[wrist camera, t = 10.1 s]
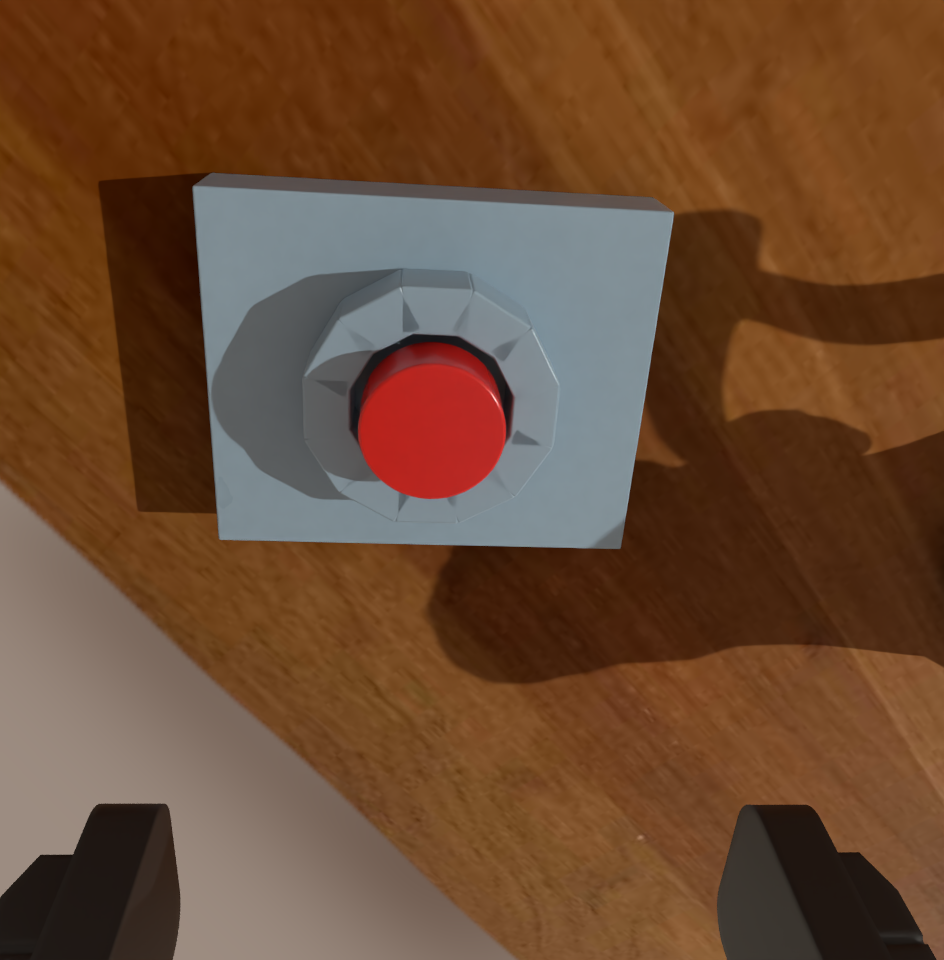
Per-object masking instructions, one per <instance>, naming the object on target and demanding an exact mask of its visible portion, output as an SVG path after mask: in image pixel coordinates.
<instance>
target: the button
mask: <svg viewBox="0 0 944 960" xmlns="http://www.w3.org/2000/svg"><path fill="white" fill-rule="evenodd" d="M505 439H506V422H505V416H504V411H503V407H502V403H501V399H500V394H499V391H498V387H497V385H496V382H495V380H494V378H493V376H492V375H491V373H490V371H489V370H488V369H487V367H486V366H485V365H484V364H483V363H482V362H481V361H480V360H479V359H478V358H477V357H475V356H474V355H472V354H471V353H469V352H468V351H466V350H464V349H462V348H459V347H457V346H454V345H451V344H446V343H440V342H422V343H415V344H412V345H408V346H405V347H403V348H401V349H398V350H396V351H395V352H393V353H391V354H390V355H388V356H387V357H386V358H385V359H383V360H382V361H381V362H380V363H379V364H378V365H377V366H376V368H375V369H374V370H373V372H372V373H371V374H370V376H369V378H368V380H367V382H366V385H365V387H364V390H363V395H362V400H361V407H360V414H359V421H358V441H359V445H360V449H361V452H362V455H363V457H364V459H365V461H366V463H367V465H368V466H369V468H370V469H371V470H372V472H373V473H374V474H375V475H376V476H377V477H378V478H379V479H380V480H381V481H382V482H384V483H385V484H386V485H388V486H389V487H391V488H392V489H394V490H396V491H398V492H400V493H402V494H405V495H408V496H411V497H416V498H423V499H441V498H448V497H451V496H455V495H458V494H461V493H463V492H466V491H467V490H469V489H471V488H473V487H474V486H476V485H477V484H479V483H480V482H481V481H482V480H483V479H484V478H486V477H487V476H488V475H489V473H490V472H491V471H492V470H493V469H494V467H495V466H496V464H497V462H498V461H499V459H500V456H501V454H502V452H503V448H504V445H505Z"/></svg>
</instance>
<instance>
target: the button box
mask: <svg viewBox="0 0 944 960" xmlns="http://www.w3.org/2000/svg"><path fill="white" fill-rule="evenodd" d="M192 191H193V204H194V217H195V230H196V244H197V257H198V270H199V283H200V296H201V310H202V323H203V336H204V349H205V363H206V376H207V389H208V402H209V416H210V429H211V442H212V455H213V468H214V482H215V495H216V508H217V521H218V535H219V539H220V540H255V541H298V542H340V543H383V544H426V545H469V546H511V547H554V548H597V549H620V548H621V544H622V538H623V531H624V525H625V519H626V512H627V506H628V500H629V494H630V487H631V481H632V475H633V469H634V462H635V456H636V450H637V444H638V437H639V431H640V425H641V419H642V412H643V406H644V400H645V393H646V387H647V381H648V375H649V368H650V362H651V356H652V350H653V343H654V337H655V331H656V325H657V318H658V312H659V306H660V300H661V293H662V287H663V281H664V274H665V268H666V262H667V256H668V249H669V243H670V237H671V231H672V224H673V218H674V212H673V211H671V210H670V209H669V208H667V207H666V206H664V205H663V204H661V203H660V202H659V201H657V200H656V199H654V198H653V197H635V196H617V195H599V194H581V193H563V192H545V191H527V190H509V189H491V188H473V187H455V186H437V185H419V184H401V183H383V182H365V181H347V180H329V179H311V178H293V177H275V176H257V175H239V174H221V173H211V174H209V175H208V176H206V177H205V178H203V179H202V180H201V181H199V182H198V183H197V184H195V185H194V186H193V187H192ZM422 342H440V343H446V344H451V345H454V346H457V347H459V348H462V349H464V350H466V351H468V352H469V353H471V354H472V355H474V356H475V357H477V358H478V359H479V360H480V361H481V362H482V363H483V364H484V365H485V366H486V367H487V369H488V370H489V371H490V373H491V375H492V376H493V378H494V380H495V382H496V385H497V387H498V391H499V394H500V399H501V403H502V407H503V411H504V416H505V422H506V439H505V445H504V448H503V452H502V454H501V456H500V459H499V461H498V462H497V464H496V466H495V467H494V469H493V470H492V471H491V472H490V473H489V475H488V476H487V477H486V478H484V479H483V480H482V481H481V482H480V483H479V484H477V485H476V486H474V487H473V488H471V489H469V490H467V491H466V492H463V493H461V494H458V495H455V496H451V497H448V498H441V499H423V498H416V497H411V496H408V495H405V494H402V493H400V492H398V491H396V490H394V489H392V488H391V487H389V486H388V485H386V484H385V483H384V482H382V481H381V480H380V479H379V478H378V477H377V476H376V475H375V474H374V473H373V472H372V470H371V469H370V468H369V466H368V465H367V463H366V461H365V459H364V457H363V455H362V452H361V449H360V445H359V441H358V421H359V414H360V407H361V400H362V395H363V390H364V387H365V385H366V382H367V380H368V378H369V376H370V374H371V373H372V372H373V370H374V369H375V368H376V366H377V365H378V364H379V363H380V362H381V361H382V360H383V359H385V358H386V357H387V356H388V355H390V354H391V353H393V352H395V351H396V350H398V349H401V348H403V347H405V346H408V345H412V344H415V343H422Z"/></svg>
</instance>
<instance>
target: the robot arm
mask: <svg viewBox="0 0 944 960" xmlns="http://www.w3.org/2000/svg"><path fill="white" fill-rule="evenodd" d="M717 913H718V924H719V931H720V936H721V941H722V945H723V948H724V951H725V954H726V957H727V960H936V958H935V956H934V954H933V953H932V951H931V949H930V947H929V945H928V944H924V942H923V935H922V933H921V931H920V929H919V928H918V926H917V924H916V922H915V920H914V919H913V917H912V915H911V913H910V912H909V910H908V908H907V906H906V904H905V903H904V901H903V899H902V897H901V895H900V894H899V892H898V890H897V889H896V888H895V887H894V886H893V885H892V884H891V883H890V882H889V881H888V880H887V879H886V878H885V877H884V876H883V875H882V874H881V873H880V872H878V871H877V870H876V869H875V868H874V867H873V866H872V865H871V864H870V863H869V862H868V861H867V860H866V859H865V858H864V857H863V856H862V855H861V854H860V853H859V852H847V853H838V852H837V850H836V848H835V846H834V844H833V842H832V840H831V838H830V836H829V834H828V832H827V831H826V829H825V827H824V825H823V823H822V821H821V819H820V817H819V816H818V814H817V813H816V811H815V810H814V809H813V808H812V807H810V806H808V805H745V806H744V807H743V808H742V809H741V811H740V813H739V816H738V819H737V823H736V827H735V831H734V834H733V838H732V842H731V845H730V849H729V853H728V857H727V860H726V864H725V868H724V872H723V875H722V879H721V883H720V887H719V891H718V900H717ZM179 919H180V889H179V881H178V874H177V865H176V857H175V850H174V841H173V834H172V826H171V818H170V812H169V808H168V806H167V805H166V804H98V805H96V806H95V808H94V809H93V810H92V812H91V814H90V816H89V818H88V820H87V823H86V825H85V827H84V830H83V833H82V834H81V837H80V840H79V842H78V844H77V847H76V849H75V851H74V854H73V855H40V856H39V857H38V858H37V859H36V860H35V861H34V862H33V863H32V864H31V865H30V866H29V867H28V869H27V870H26V871H25V872H24V873H23V874H22V875H21V876H20V877H19V878H18V879H17V880H16V881H15V882H14V883H13V884H12V885H11V887H9V889H8V890H7V891H6V892H5V893H4V894H3V895H2V896H1V897H0V960H173V956H174V951H175V947H176V941H177V935H178V928H179Z"/></svg>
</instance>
